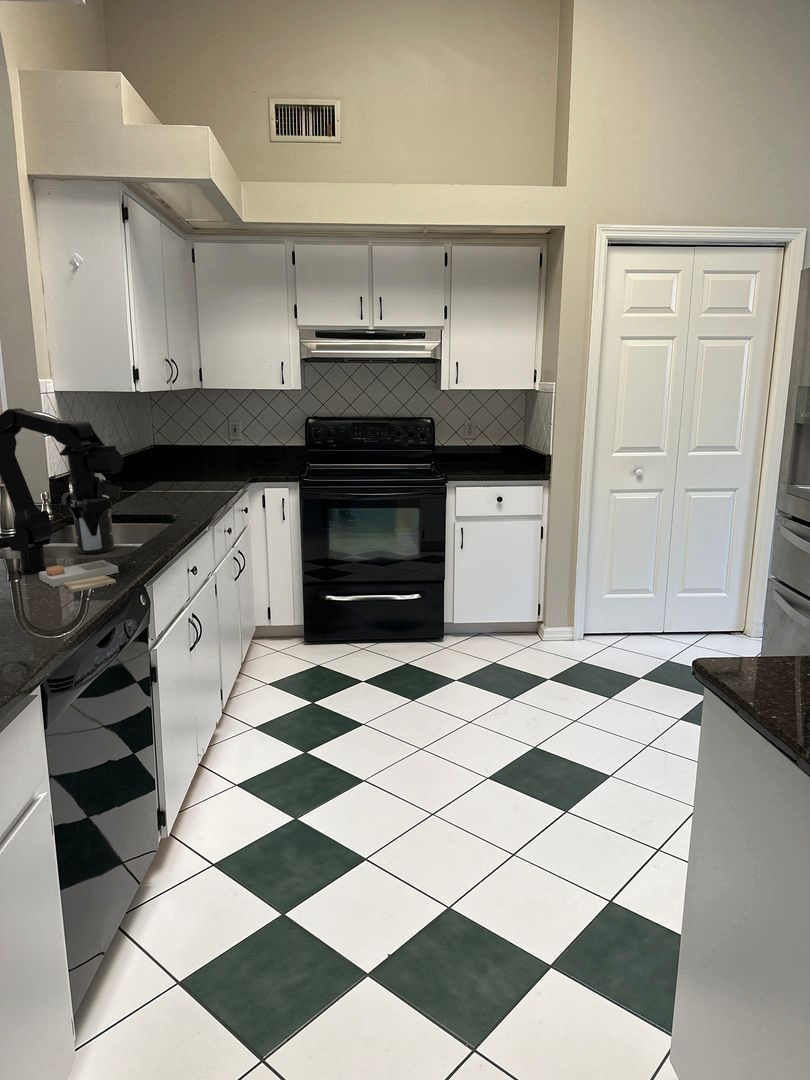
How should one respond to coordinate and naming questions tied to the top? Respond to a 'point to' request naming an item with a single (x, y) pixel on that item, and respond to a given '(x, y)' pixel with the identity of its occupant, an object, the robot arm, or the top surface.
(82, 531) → the cylinder
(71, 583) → the pad
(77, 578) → the white tray
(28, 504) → the robot arm
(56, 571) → the plunger
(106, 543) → the black cylindrical canister
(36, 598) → the top surface
